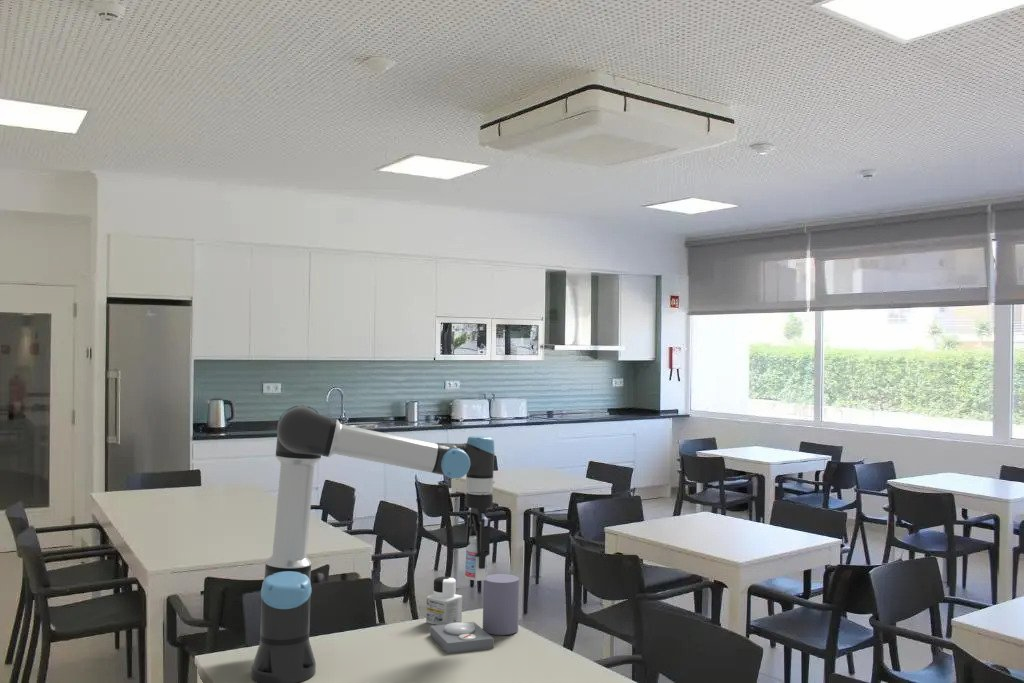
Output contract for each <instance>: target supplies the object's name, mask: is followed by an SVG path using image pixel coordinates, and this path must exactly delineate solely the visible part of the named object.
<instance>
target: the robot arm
mask: <svg viewBox="0 0 1024 683" xmlns="http://www.w3.org/2000/svg"><path fill="white" fill-rule="evenodd" d="M276 431H277V436H276V447H275V457H276V459H277V460H278V461H279V463H280V470H279V479H278V490H277V492H278V493H277V501H276V502H277V503H276V514H275V523H274V524H275V525H274V534H273V535H274V536H273V546H272V555H271V556H270V557H269V558H267V560H266V561H265V564H264V565H265V567H264V575H263V576H264V579H263V581H262V583H261V584H262V585H261V589H260V596H261V600H260V603H261V604H260V626H259V627H260V628H259V629H260V630H259V633H260V634H259V635H260V637H259V646H258V648H257V650H256V654H255V656H254V660H253V662H252V665H251V676H250V677H251V678H252V680H253V681H255V682H258V683H300V682H303V681H306V680H308V679H310V678H312V677H313V676H315V674H316V669H317V668H316V667H317V664H316V663H317V662H316V659H315V656H314V652H313V648H312V645H311V642H310V628H311V627H310V625H311V624H310V621H311V620H310V619H311V594H312V591H313V590H312V585H311V574H312V573H311V572H312V561H311V560H310V559H309V557H308V556H307V552H308V551H307V550H308V542H309V541H308V540H309V528H310V516H311V507H312V495H313V493H312V492H313V484H314V472H315V465H316V463H318V462H319V461H320V460H321V459H322V457H328V458H330V457H332V456H333V455H338V456H344V457H349V458H353V459H354V458H355V459H360V460H365V461H369V462H374V463H380V464H384V465H391V466H395V467H401V468H405V469H410V470H415V471H422V472H426V473H431V474H432V473H433V474H437V475H442V476H446V477H447V478H450V479H460V478H463V477H465V491H466V494H465V503H464V504H465V507H467V508H470V510H468V511H466V532H465V533H466V535H465V547H467V546H468V545H470V541H469V537H470V536H476V540H477V554H475V557H476V568H475V580H474V581H477V582H479V581H484V580H485V577H486V556H487V555H488V556H490V548H491V546H490V543H491V542H490V536H491V535H490V533H491V532H490V531H491V523H492V519H491V518H489V517H488V514H487V509H490V508H492V507H493V505H494V504H493V500H494V495H493V491H494V484H495V482H496V481H495V480H494V466H495V465H494V464H495V462H494V461H495V455H496V453H495V440H494V438H492V437H490V436H484V435H483V436H482V435H471V436H468V437H467V441H466V443H465V442H464V443H449V442H447V443H444V442H443V443H440V442H434V443H433V442H429V441H423V440H420V439H415V438H411V437H405V436H399V435H395V434H390V433H386V432H385V433H384V432H381V431H375V430H371V429H365V428H361V427H356V426H352V425H345V424H342V423H341V422H340V420H339V419H337V418H332V417H329V416H326V415H323V414H320V413H319V411H317V410H316V409H315V408H314V407H311V406H308V405H303V404H302V405H301V404H300V405H293V406H291V407H289V408H288V409H286V410H284V412H283V413H282V414H281V415H280V417H279V419H278V422H277V429H276Z"/></svg>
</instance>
